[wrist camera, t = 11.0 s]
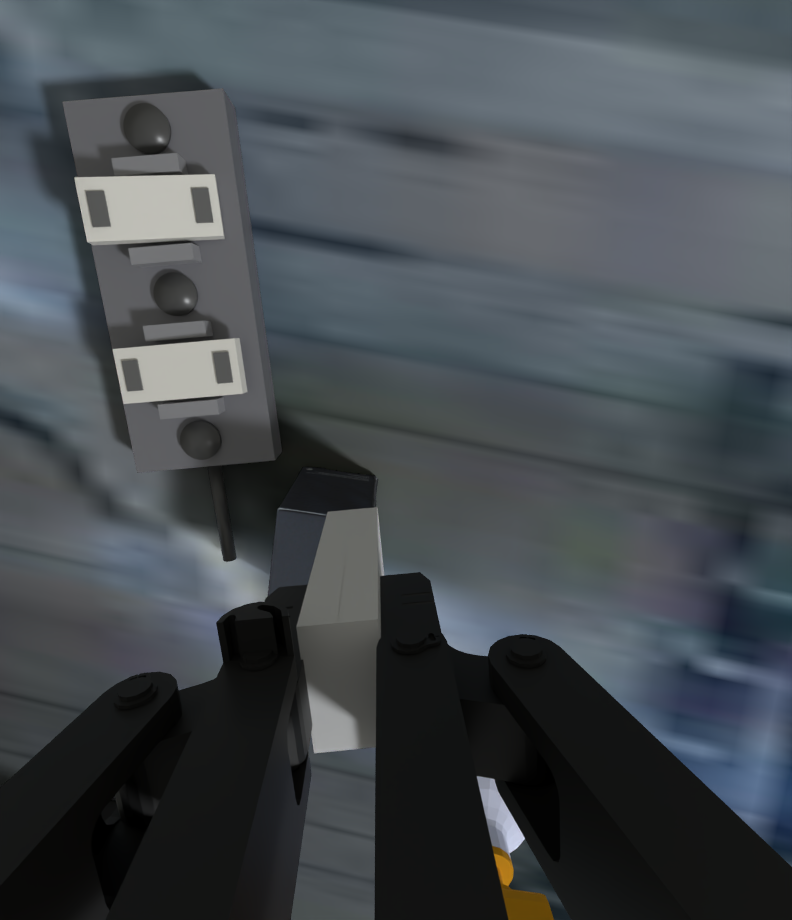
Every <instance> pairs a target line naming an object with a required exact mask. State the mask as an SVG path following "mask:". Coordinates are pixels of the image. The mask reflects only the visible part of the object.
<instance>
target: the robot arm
mask: <svg viewBox="0 0 792 920" xmlns="http://www.w3.org/2000/svg"><path fill="white" fill-rule="evenodd" d="M216 624H217V630H218V635H219V641H220V646H221V652H222V657H223V665H222V667H221V669H220V671H219V673H218V676H217V678H215V679H214V680H211V681H208V682H205V683H203V684H199V685H196V686H192V687H189V688H186V689H182V690H178V686H177V681H176V679H175V678H174V677H173V676H172V675H171V674H167V673H163V672H151V673H142V674H139V675H138V674H137V675H134V676H131V677H129V678H128V679H126V680H124V681H122V682H119V683H117V684H116V685H114V686H113V687H111V688H110V689H109V690H107V691H106V692H104V693H103V694H102V695H101V696H100V697H99V698H98V699H97V700H96V701H95V702H93V703H92V704H91V705H90V706H89V707H88V708H87V709H86V710H85V711H84V712H82V713H81V714H80V715H79V716H78V717H77V718H76V719H75V720H74V721H73V722H72V723H70V724H69V725H68V726H67V727H66V728H65V729H64V730H63V731H62V732H61V733H60V734H58V735H57V736H56V737H55V738H54V739H53V740H52V741H51V742H50V743H49V744H47V745H46V746H45V747H44V748H43V749H42V750H41V751H40V752H39V753H38V754H37V755H35V756H34V757H33V758H32V759H31V760H30V761H29V762H28V763H27V764H26V765H25V766H23V767H22V768H21V769H20V770H19V771H18V772H17V773H16V774H15V775H14V776H12V777H11V778H10V779H9V780H8V781H7V782H6V783H5V784H4V785H3V786H2V787H0V920H291V913H292V906H293V899H294V892H295V885H296V878H297V871H298V864H299V857H300V850H301V843H302V836H303V830H304V823H305V816H306V809H307V802H308V795H309V788H310V781H311V766H310V759H309V752H308V749H309V743H310V737H311V734H312V741H313V748H314V753H322V752H332V751H342V750H352V749H362V748H372V747H376V788H375V920H508V915H507V911H506V906H505V902H504V897H503V893H502V888H501V884H500V879H499V875H498V870H497V866H496V861H495V856H494V852H493V847H492V843H491V838H490V834H489V829H488V825H487V820H486V816H485V811H484V807H483V802H482V798H481V793H480V789H479V784H478V780H477V776H480V777H485V778H491V779H495V783H496V787H497V790H498V792H499V794H500V796H501V798H502V799H503V801H504V803H505V805H506V806H507V808H508V810H509V811H510V813H511V815H512V817H513V818H514V820H515V822H516V824H517V825H518V827H519V829H520V831H521V832H522V834H523V836H524V838H525V839H526V841H527V843H528V845H529V846H530V848H531V850H532V852H533V853H534V855H535V857H536V859H537V860H538V862H539V864H540V866H541V867H542V869H543V871H544V872H545V874H546V876H547V878H548V879H549V881H550V883H551V885H552V886H553V888H554V890H555V892H556V893H557V895H558V897H559V899H560V900H561V902H562V904H563V906H564V907H565V909H566V911H567V913H568V914H569V916H570V918H571V920H792V867H791V866H790V865H789V864H788V863H787V862H786V861H785V860H784V859H783V858H782V857H781V856H780V855H779V854H778V853H777V852H775V851H774V850H773V849H772V848H771V847H770V846H769V845H768V844H767V843H766V842H765V841H764V840H763V839H762V838H761V837H760V836H759V835H758V834H756V833H755V832H754V831H753V830H752V829H751V828H750V827H749V826H748V825H747V824H746V823H745V822H744V821H743V820H742V819H741V818H740V817H739V816H738V815H736V814H735V813H734V812H733V811H732V810H731V809H730V808H729V807H728V806H727V805H726V804H725V803H724V802H723V801H722V800H721V799H720V798H719V797H718V796H716V795H715V794H714V793H713V792H712V791H711V790H710V789H709V788H708V787H707V786H706V785H705V784H704V783H703V782H702V781H701V780H700V779H699V778H698V777H696V776H695V775H694V774H693V773H692V772H691V771H690V770H689V769H688V768H687V767H686V766H685V765H684V764H683V763H682V762H681V761H680V760H679V759H678V758H676V757H675V756H674V755H673V754H672V753H671V752H670V751H669V750H668V749H667V748H666V747H665V746H664V745H663V744H662V743H661V742H660V741H659V740H658V739H656V738H655V737H654V736H653V735H652V734H651V733H650V732H649V731H648V730H647V729H646V728H645V727H644V726H643V725H642V724H641V723H640V722H639V721H637V720H636V719H635V718H634V717H633V716H632V715H631V714H630V713H629V712H628V711H627V710H626V709H625V708H624V707H623V706H622V705H621V704H620V703H619V702H617V701H616V700H615V699H614V698H613V697H612V696H611V695H610V694H609V693H608V692H607V691H606V690H605V689H604V688H603V687H602V686H601V685H600V684H599V683H597V682H596V681H595V680H594V679H593V678H592V677H591V676H590V675H589V674H588V673H587V672H586V671H585V670H584V669H583V668H582V667H581V666H580V665H579V664H577V663H576V662H575V661H574V660H573V659H572V658H571V657H570V656H569V655H568V654H567V653H566V652H565V651H564V650H563V649H562V648H561V647H559V646H558V645H556V644H555V643H553V642H552V641H550V640H548V639H545V638H542V637H539V636H535V635H527V634H520V635H514V636H508V637H505V638H503V639H500V640H498V641H497V642H495V643H494V644H493V645H492V646H491V647H490V650H489V654H488V656H479V655H472V654H467V653H464V652H461V651H458V650H456V649H454V648H452V647H451V646H449V645H448V644H447V640H446V639H445V637H444V635H443V634H442V633H441V629H440V624H439V620H438V615H437V610H436V606H435V602H434V596H433V592H432V587H431V583H430V580H429V579H427V578H426V577H425V576H424V575H422V574H421V573H420V572H418V573H408V574H397V575H386V576H384V569H383V559H382V548H381V538H380V528H379V518H378V508H377V507H374V508H363V509H352V510H342V511H331V512H328V513H327V516H326V520H325V524H324V527H323V531H322V535H321V538H320V542H319V546H318V549H317V553H316V557H315V560H314V564H313V568H312V571H311V575H310V579H309V582H308V584H307V585H297V586H286V587H278V588H277V589H276V590H275V591H274V592H273V593H271V594H270V595H269V596H268V597H267V598H266V600H265V602H257V603H251V604H246V605H243V606H241V607H238V608H235V609H233V610H231V611H229V612H228V613H226V614H224V615H223V616H222V617H221V618H220V619H219V620H218V621H217V623H216ZM114 796H115V799H116V801H110V800H111V799H112V798H113V797H114Z"/></svg>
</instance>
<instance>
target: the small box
mask: <svg viewBox="0 0 792 920" xmlns="http://www.w3.org/2000/svg"><path fill="white" fill-rule="evenodd" d="M377 483H378V478H377V477H376V476H375V475H373V476H372V475H361V474H359V473H358V474H354V473H348V472H340V471H337V470H336V471H334V470H327V469H325V468H314V467H303V468H302V470H301V471H300V473H299V475H298V477H297V478H296V480H295V482H294V483H293V485H292V487H291V488H290V490H289V492H288V493H287V495H286V497H285V498H284V500H283V502H282V503H281V505H280V506H279V508H278V509H277V515H276V524H275V534H274V543H273V553H272V562H271V571H270V581H269V590H268V596H269V595H270V594H271V593H273V592H274V591H275V590H276V589H277V588H278V587H286V586H297V585H307V584H308V582H309V579H310V575H311V571H312V568H313V564H314V560H315V557H316V553H317V549H318V546H319V542H320V538H321V535H322V531H323V527H324V524H325V520H326V516H327V513H328V512H331V511H342V510H352V509H363V508H374V507H376V492H377Z"/></svg>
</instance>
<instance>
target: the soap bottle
mask: <svg viewBox="0 0 792 920" xmlns="http://www.w3.org/2000/svg"><path fill="white" fill-rule="evenodd" d="M477 780H478V784H479V789H480V793H481V798H482V802H483V807H484V811H485V816H486V820H487V825H488V829H489V834H490V838H491V843H492V847H493V852H494V856H495V861H496V866H497V870H498V875H499V879H500V884H501V888H502V893H503V897H504V902H505V906H506V911H507V915H508V920H554V919H553V916H552V913H551V909H550V906H549V903H548V901H547V899H546V896H545V895H543V894H541V893H533V892H526V891H519V890H512V889H511V888H509V887H508V885H509V884H510V882H511V880H512V879H513V866H512V862H511V857H510V853H511V852H512V851H513V850H515V849H516V848H518V846H519V845H520V844H521V843H522V842H523V840H524V839H525V838H524V836H523V834H522V832H521V831H520V829H519V827H518V825H517V824H516V822H515V820H514V818H513V817H512V815H511V813H510V811H509V810H508V808H507V806H506V805H505V803H504V801H503V799H502V798H501V796H500V794H499V792H498V790H497V787H496V783H495V779H491V778H485V777H480V776H477Z"/></svg>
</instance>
